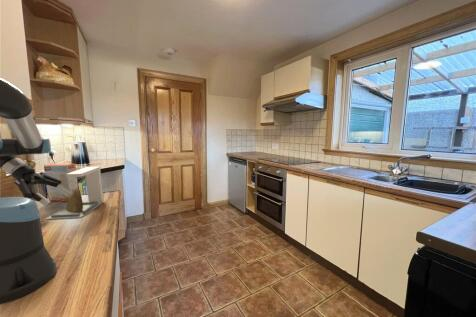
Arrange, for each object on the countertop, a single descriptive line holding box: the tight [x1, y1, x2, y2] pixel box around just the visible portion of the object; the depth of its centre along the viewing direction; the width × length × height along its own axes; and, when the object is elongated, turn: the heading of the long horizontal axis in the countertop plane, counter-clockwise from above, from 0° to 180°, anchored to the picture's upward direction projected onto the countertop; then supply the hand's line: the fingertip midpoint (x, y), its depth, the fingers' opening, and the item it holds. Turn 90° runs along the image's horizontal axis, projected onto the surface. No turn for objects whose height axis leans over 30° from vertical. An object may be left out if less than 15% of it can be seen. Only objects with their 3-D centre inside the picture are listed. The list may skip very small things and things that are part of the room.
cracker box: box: [43, 163, 79, 202], centre depth 116 cm, size 14×6×21 cm, turn 84°
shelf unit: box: [44, 166, 105, 221], centre depth 102 cm, size 21×15×20 cm
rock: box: [64, 189, 84, 212], centre depth 101 cm, size 11×9×10 cm
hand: (58, 199), depth 101 cm, fingers open, 13 cm apart
